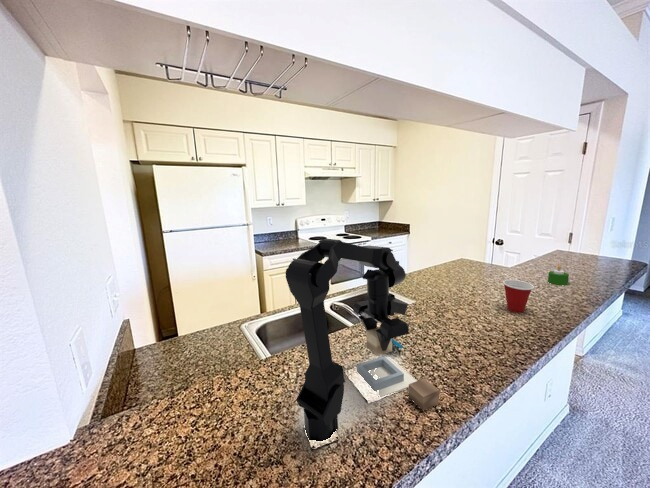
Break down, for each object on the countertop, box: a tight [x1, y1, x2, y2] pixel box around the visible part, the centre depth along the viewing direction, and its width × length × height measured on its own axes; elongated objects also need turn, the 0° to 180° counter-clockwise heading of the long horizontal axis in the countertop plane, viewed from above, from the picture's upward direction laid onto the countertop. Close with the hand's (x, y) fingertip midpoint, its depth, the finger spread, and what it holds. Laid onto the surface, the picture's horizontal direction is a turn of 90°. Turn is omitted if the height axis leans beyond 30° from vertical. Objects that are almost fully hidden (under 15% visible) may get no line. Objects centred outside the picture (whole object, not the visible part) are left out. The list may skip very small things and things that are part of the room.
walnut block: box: [408, 378, 440, 411], centre depth 68 cm, size 5×5×4 cm
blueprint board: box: [356, 356, 418, 397], centre depth 77 cm, size 16×14×3 cm
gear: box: [392, 338, 403, 350], centre depth 92 cm, size 11×6×10 cm
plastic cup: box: [502, 279, 535, 313], centre depth 116 cm, size 11×11×12 cm
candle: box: [547, 264, 570, 286], centre depth 146 cm, size 8×8×10 cm
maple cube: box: [365, 326, 393, 357], centre depth 76 cm, size 5×5×5 cm
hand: (378, 345), depth 76 cm, fingers closed on maple cube, 5 cm apart
